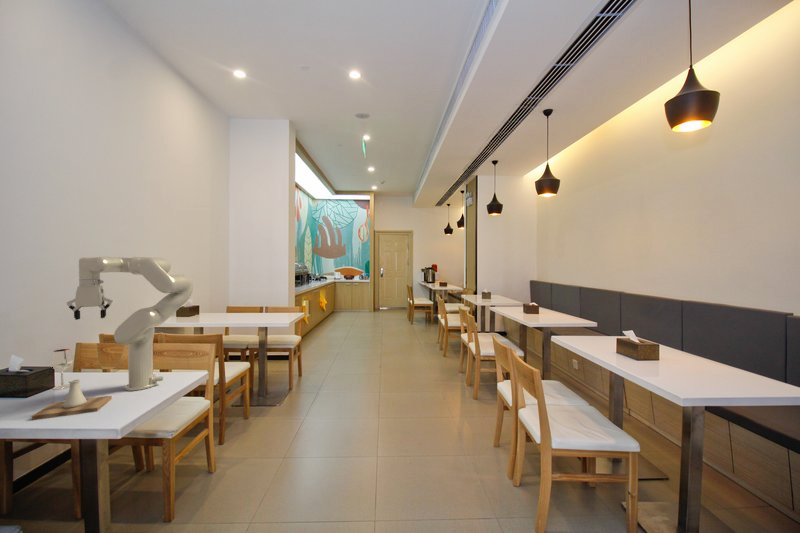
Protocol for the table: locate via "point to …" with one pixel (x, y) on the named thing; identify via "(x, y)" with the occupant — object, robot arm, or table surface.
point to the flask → (74, 395)
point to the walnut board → (58, 410)
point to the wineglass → (61, 363)
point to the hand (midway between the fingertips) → (90, 318)
